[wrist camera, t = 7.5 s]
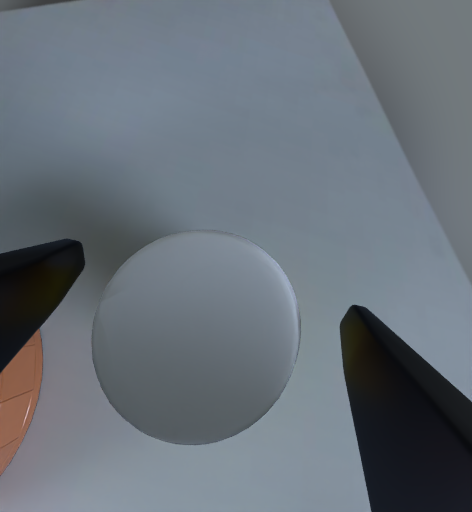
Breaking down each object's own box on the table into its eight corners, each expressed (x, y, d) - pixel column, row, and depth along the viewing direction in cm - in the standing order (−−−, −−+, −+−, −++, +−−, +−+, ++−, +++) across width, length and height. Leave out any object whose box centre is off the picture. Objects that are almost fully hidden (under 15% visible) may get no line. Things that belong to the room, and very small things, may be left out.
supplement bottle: (211, 390, 14) (184, 597, 4) (145, 316, 14) (-26, 328, 4) (279, 317, 15) (399, 329, 5) (215, 252, 15) (203, 143, 6)
